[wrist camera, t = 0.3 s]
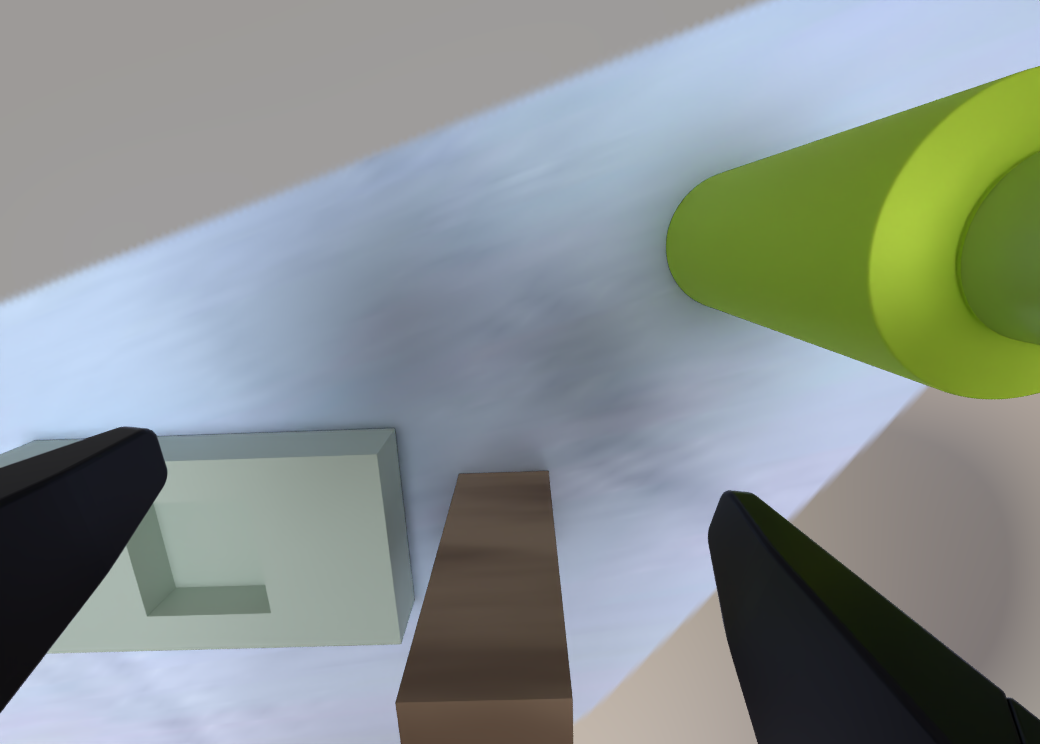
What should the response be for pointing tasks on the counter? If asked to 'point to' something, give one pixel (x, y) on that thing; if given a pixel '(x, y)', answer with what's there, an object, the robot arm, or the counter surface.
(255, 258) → the counter surface
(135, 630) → the sage rectangular frame
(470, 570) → the walnut post
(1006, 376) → the soap dispenser
